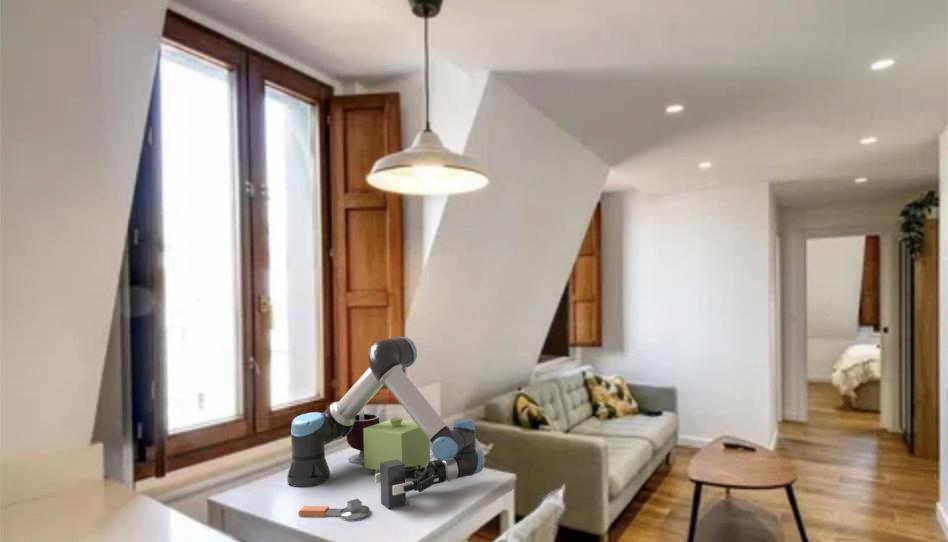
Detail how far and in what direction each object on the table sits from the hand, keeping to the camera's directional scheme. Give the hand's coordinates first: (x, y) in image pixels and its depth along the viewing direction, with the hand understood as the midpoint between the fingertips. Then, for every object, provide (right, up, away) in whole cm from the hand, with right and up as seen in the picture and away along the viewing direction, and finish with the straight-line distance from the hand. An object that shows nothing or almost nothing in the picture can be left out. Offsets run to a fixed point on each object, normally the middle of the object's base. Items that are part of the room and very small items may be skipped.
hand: (383, 484), depth 174 cm
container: (0, -8, +34) cm, 35 cm away
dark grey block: (+3, -7, +2) cm, 8 cm away
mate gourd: (-17, -10, +51) cm, 55 cm away
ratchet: (-15, -7, -5) cm, 17 cm away
